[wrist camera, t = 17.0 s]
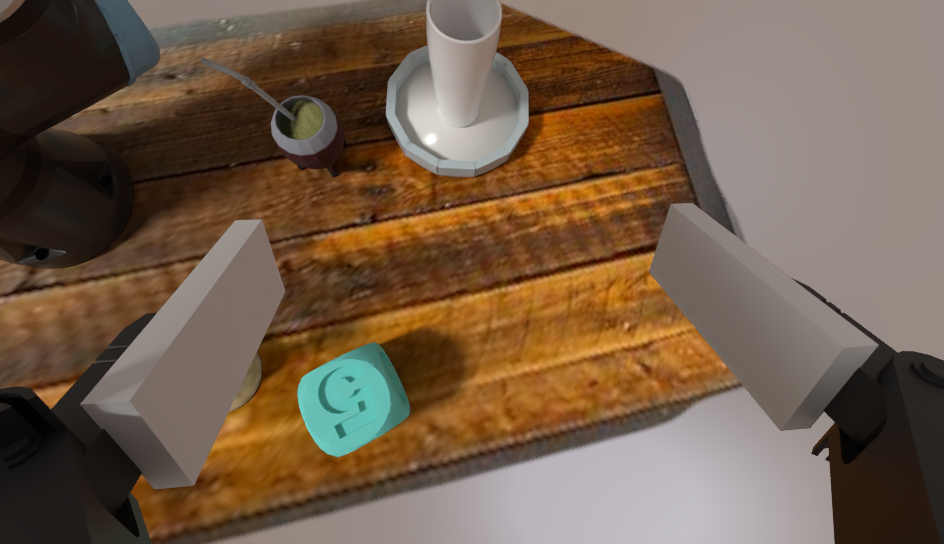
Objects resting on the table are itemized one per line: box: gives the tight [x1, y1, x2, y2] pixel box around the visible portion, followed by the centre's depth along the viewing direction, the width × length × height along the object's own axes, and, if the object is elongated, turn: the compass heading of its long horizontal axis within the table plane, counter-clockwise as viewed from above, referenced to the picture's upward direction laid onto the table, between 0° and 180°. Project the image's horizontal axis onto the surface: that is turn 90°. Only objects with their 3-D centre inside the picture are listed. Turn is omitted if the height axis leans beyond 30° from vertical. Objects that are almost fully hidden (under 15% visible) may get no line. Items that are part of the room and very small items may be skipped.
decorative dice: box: [298, 342, 410, 457], centre depth 39 cm, size 8×8×8 cm
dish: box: [386, 45, 529, 177], centre depth 49 cm, size 17×17×2 cm
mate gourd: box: [201, 57, 347, 177], centre depth 40 cm, size 8×8×15 cm
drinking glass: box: [426, 0, 502, 127], centre depth 42 cm, size 7×7×15 cm
